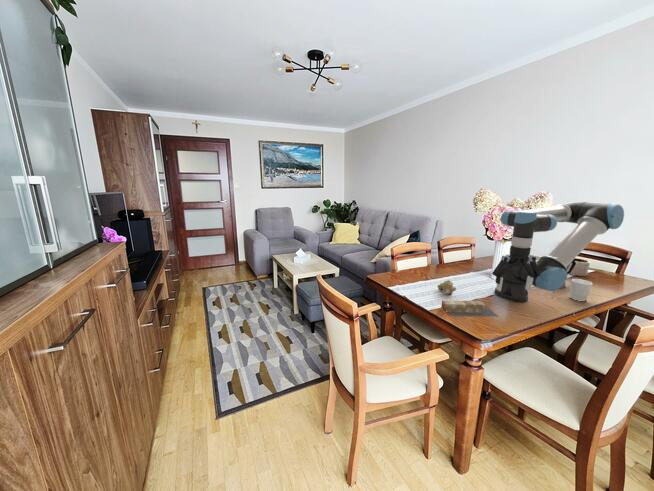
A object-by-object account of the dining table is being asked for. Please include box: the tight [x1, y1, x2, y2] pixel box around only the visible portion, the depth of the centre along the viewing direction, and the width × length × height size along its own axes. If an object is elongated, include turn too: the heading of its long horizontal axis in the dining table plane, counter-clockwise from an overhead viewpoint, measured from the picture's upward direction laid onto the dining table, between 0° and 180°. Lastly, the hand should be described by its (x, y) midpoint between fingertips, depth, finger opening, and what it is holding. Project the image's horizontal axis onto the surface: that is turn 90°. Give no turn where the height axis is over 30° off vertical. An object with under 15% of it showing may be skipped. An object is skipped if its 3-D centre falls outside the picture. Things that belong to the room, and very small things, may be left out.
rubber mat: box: [449, 304, 499, 317], centre depth 131 cm, size 21×11×1 cm, turn 89°
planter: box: [567, 257, 591, 277], centre depth 182 cm, size 11×11×10 cm
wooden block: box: [440, 300, 485, 313], centre depth 131 cm, size 4×4×18 cm
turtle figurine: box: [437, 280, 457, 295], centre depth 150 cm, size 8×7×12 cm
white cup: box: [568, 278, 593, 301], centre depth 143 cm, size 8×8×10 cm
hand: (513, 290), depth 128 cm, fingers open, 13 cm apart
